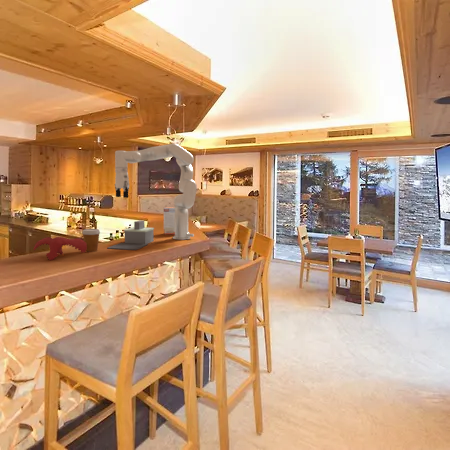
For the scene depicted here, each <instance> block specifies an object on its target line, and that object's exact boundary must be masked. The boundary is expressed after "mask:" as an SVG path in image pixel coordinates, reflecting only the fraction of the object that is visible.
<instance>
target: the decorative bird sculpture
mask: <svg viewBox="0 0 450 450" xmlns="http://www.w3.org/2000/svg"><path fill="white" fill-rule="evenodd" d="M44 245H46V246H47V245H48V247H49V250H50V251H48V252H47V253H46V254H45V256H46V258H47V260H50V261H52V260H54V261H55V259H56V257H59V255H62V257H64V256H65V254H64V253H63V246H68V247H72V248H74V249H75V250H78V251H80V253H81V254H82V253H86V252H87V251H86V249H87V244H86V242H85V241H84V239H81V238H79V237H77V238H67V237H62V236H56V237H53V238H52V237H51V236H47V237H44V238H42V239H40V240H38V241H36V243H35V244H34V247H33V249H32V250H33V251H35V250H36V249H37V248H38V247H40V246H44Z"/></svg>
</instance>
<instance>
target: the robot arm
mask: <svg viewBox="0 0 450 450" xmlns="http://www.w3.org/2000/svg"><path fill="white" fill-rule="evenodd" d="M114 156H115V157H114V160H115V161H114V163H115V164H114V166H115V167H114V169H115V171H114V172H115V177H114V178H115V181H114V182H115V183H114V190H115V197H116V198H121V197H122V195H123V199H126V198H127V199H128V198H129V190H130V180H129V179H130V176H129V172H128V169H129V167H128V166H129V164H136V163H140V162H141V163H142V162H147V161H157V160H162V159H166V158H172V157H174V158H175V161H176V163H177V165H178V167H179V168H180V177H179V182H178V190H179V192H180V193H182V194H178V195H176V196H175V198H174V200H173V205H174V206H173V207H175V235H174V236H172V239H174V240H184V241H185V240H190V239H191V237H193V238H194V236H195V234H194V233H190V231H189V209H191V208H192V207H193V206H194V204H195V200H196V195H197V190H198V188H197V183H196V181H195V180H193V176H194V169H193V166H192V164H194V159H195V158H194V156H193V154H192V153H191V152H189V151H187V149H184V147H182V146H180V145H179V144H177V143H170V144H163V145H157V146H151V147H147V148H145V149H140V150H130V151H129V150H128V151H126V150H116V151H114ZM128 163H129V164H128ZM121 189H122V190H123V193H121V192H122V191H121ZM121 194H122V195H121Z"/></svg>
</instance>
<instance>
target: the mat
mask: <svg viewBox="0 0 450 450" xmlns="http://www.w3.org/2000/svg"><path fill="white" fill-rule="evenodd" d="M148 245H149V243H148V244H135V243H125V242H119V243H116V244H114V245H110V246H109V247H107V248H106V250H107V249H109V250H126V251H137V250H139V249H142V248H144V247H146V246H148Z"/></svg>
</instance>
